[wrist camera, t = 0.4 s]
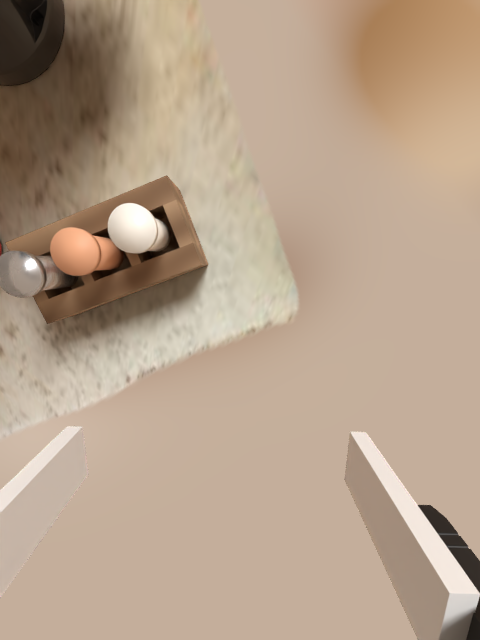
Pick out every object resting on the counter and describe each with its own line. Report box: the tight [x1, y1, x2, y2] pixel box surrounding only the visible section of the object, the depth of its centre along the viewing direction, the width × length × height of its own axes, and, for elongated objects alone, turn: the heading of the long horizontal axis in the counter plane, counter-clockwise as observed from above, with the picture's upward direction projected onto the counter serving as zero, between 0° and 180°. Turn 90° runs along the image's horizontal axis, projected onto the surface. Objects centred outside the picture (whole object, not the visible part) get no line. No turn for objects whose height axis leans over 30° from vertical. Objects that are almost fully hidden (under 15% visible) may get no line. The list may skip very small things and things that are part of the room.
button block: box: [6, 176, 208, 324], centre depth 34 cm, size 10×20×6 cm, turn 110°
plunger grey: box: [0, 251, 79, 297], centre depth 30 cm, size 4×4×7 cm
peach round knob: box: [50, 227, 124, 276], centre depth 29 cm, size 4×4×7 cm
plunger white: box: [108, 203, 171, 253], centre depth 29 cm, size 4×4×7 cm
